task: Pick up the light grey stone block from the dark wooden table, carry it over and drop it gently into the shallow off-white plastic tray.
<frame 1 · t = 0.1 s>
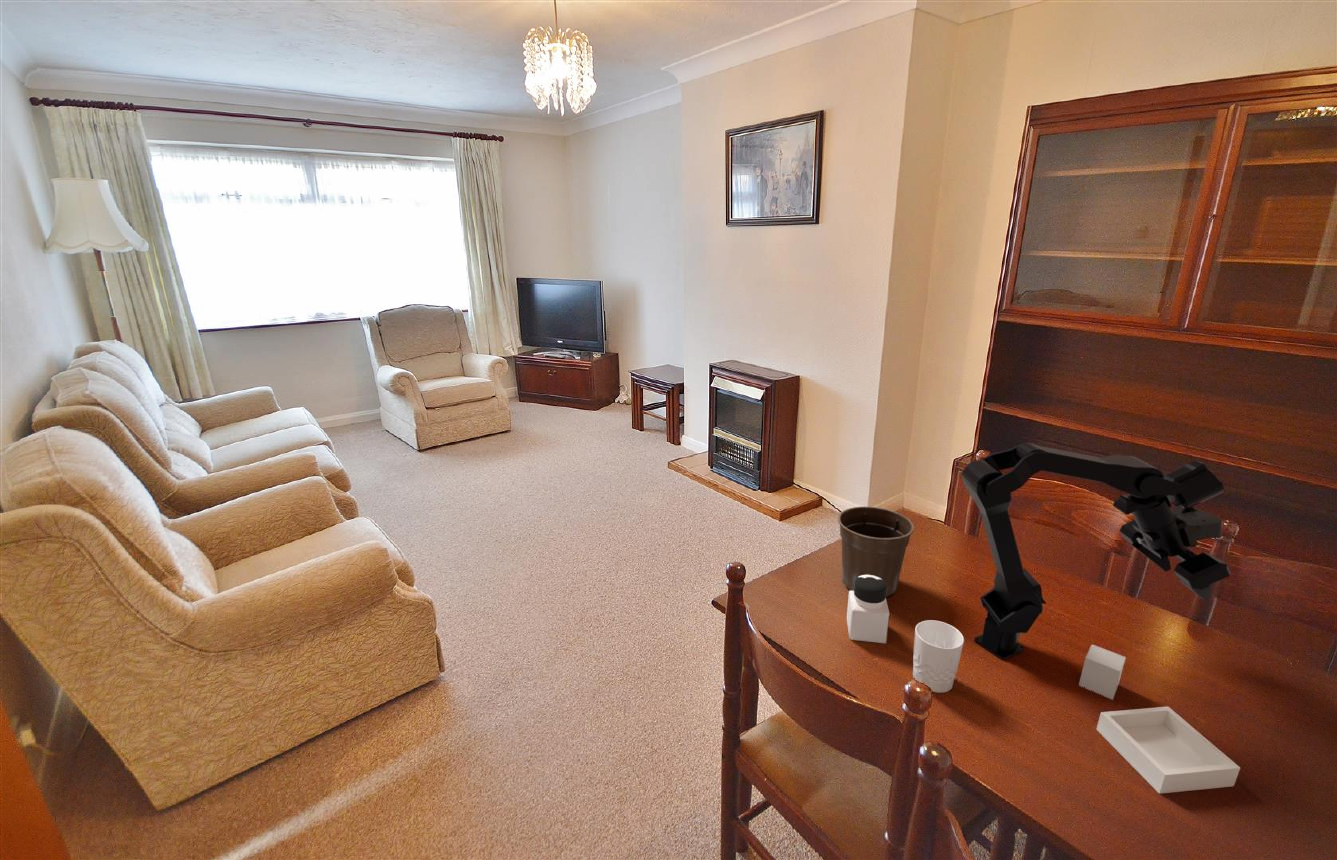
hand: (1186, 583, 107), 15 cm above the table, tool tilted 30°, fingers open, 9 cm apart
white cup: (932, 680, 106), on the table
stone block: (1098, 685, 104), on the table
plant pot: (869, 584, 136), on the table
medicine bottle: (865, 631, 120), on the table
tray: (1161, 756, 90), on the table
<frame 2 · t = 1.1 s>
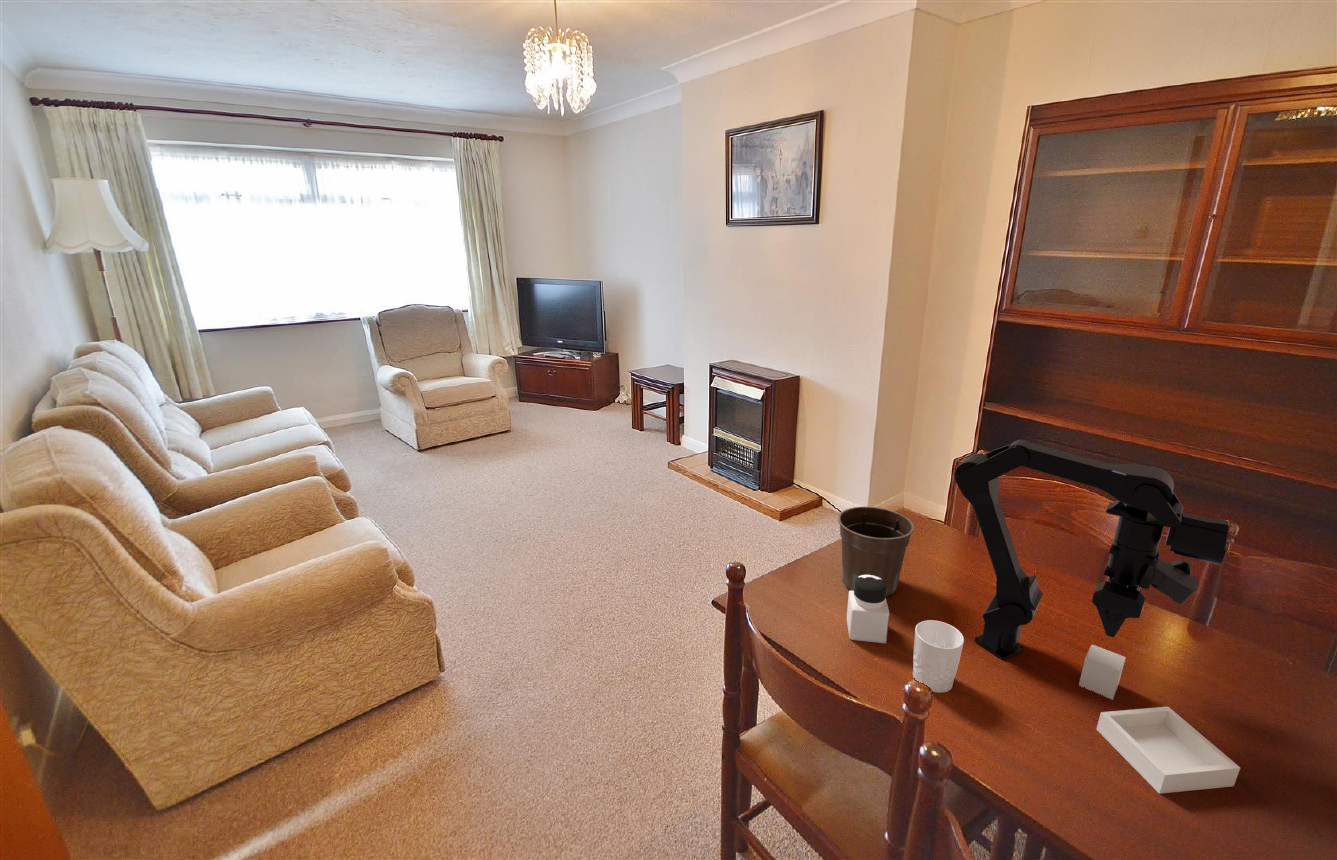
hand: (1115, 623, 100), 13 cm above the table, tool pointing down, fingers open, 9 cm apart
nothing on the table moved.
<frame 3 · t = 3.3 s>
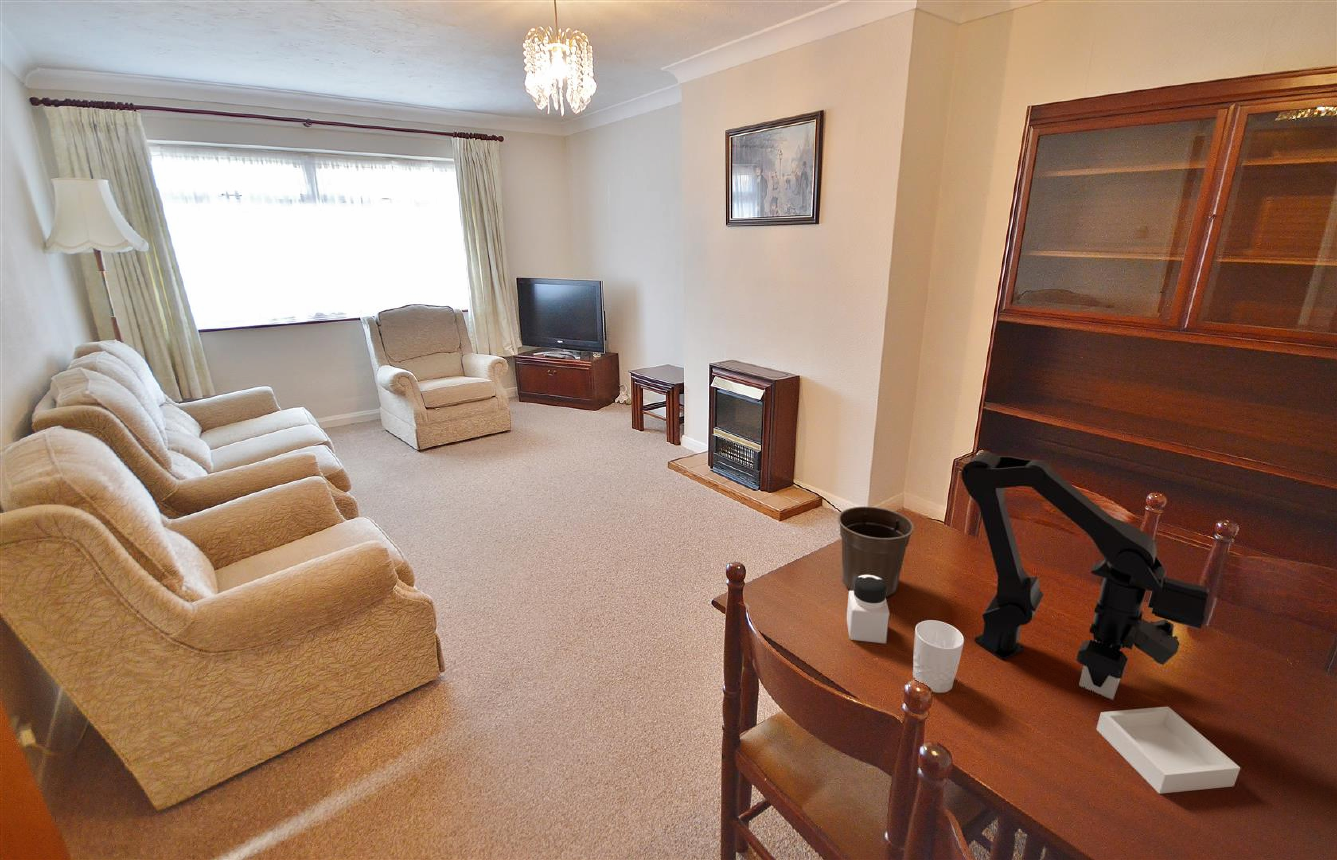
hand: (1100, 678, 104), 2 cm above the table, tool pointing down, fingers closed on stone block, 5 cm apart
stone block: (1098, 685, 104), on the table, touching gripper
everything else where it was.
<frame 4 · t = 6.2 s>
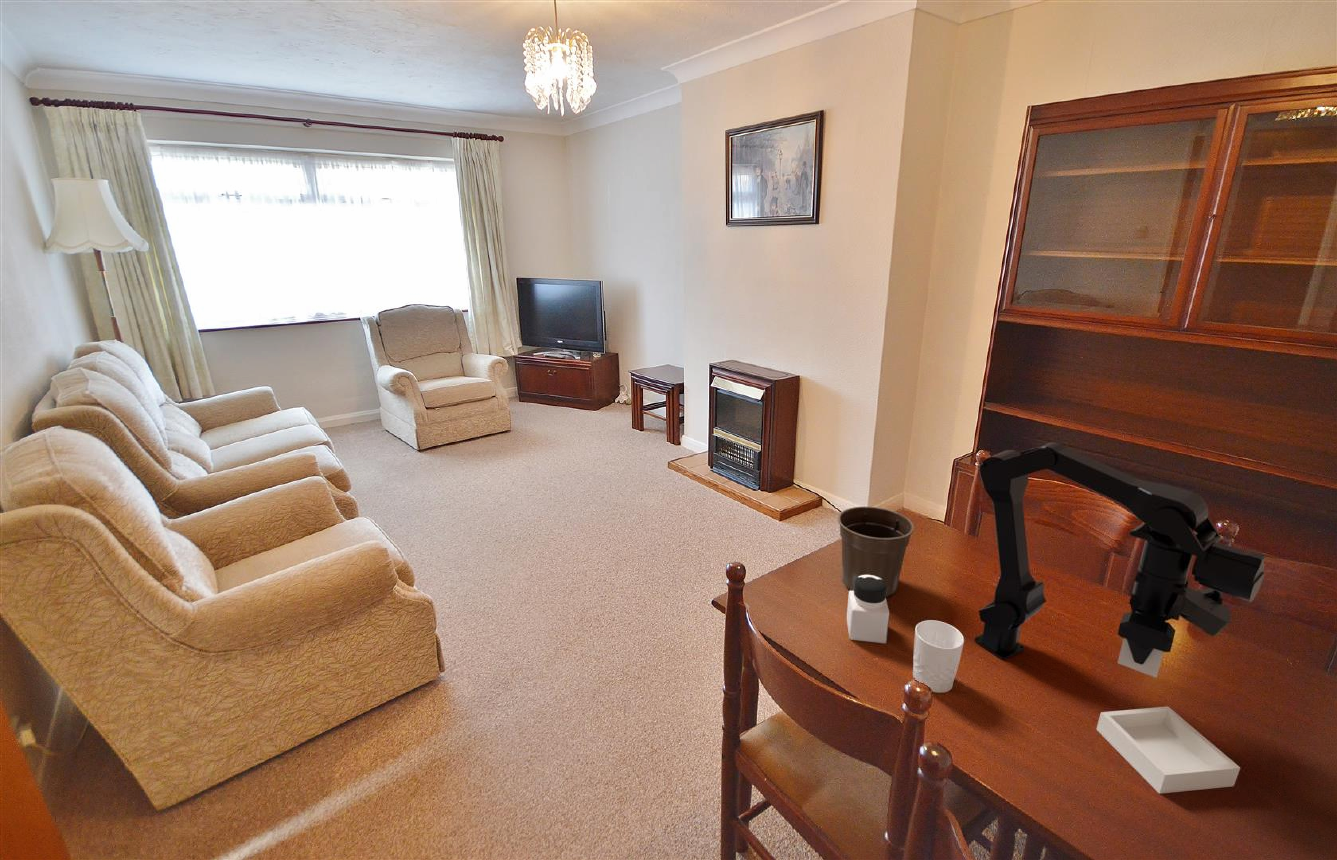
hand: (1140, 654, 94), 12 cm above the table, tool pointing down, fingers closed on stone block, 5 cm apart
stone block: (1139, 662, 95), point 10 cm above the table, touching gripper
everything else where it was.
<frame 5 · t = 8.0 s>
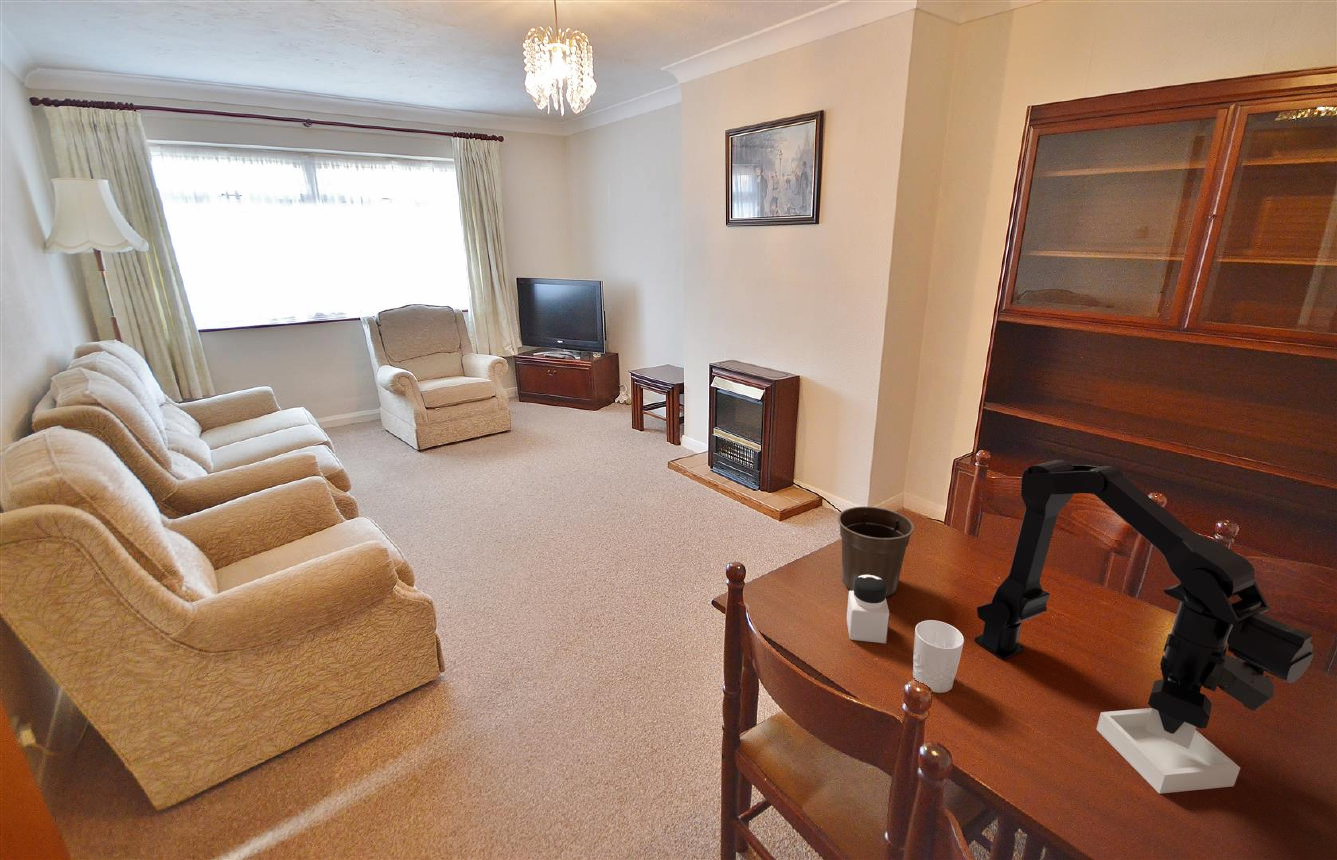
hand: (1171, 721, 88), 7 cm above the table, tool pointing down, fingers closed on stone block, 5 cm apart
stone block: (1169, 729, 88), point 5 cm above the table, touching gripper
everything else where it was.
when the fingers open (4 cm above the table, at t = 9.4 s): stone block drops 2 cm, resting on tray.
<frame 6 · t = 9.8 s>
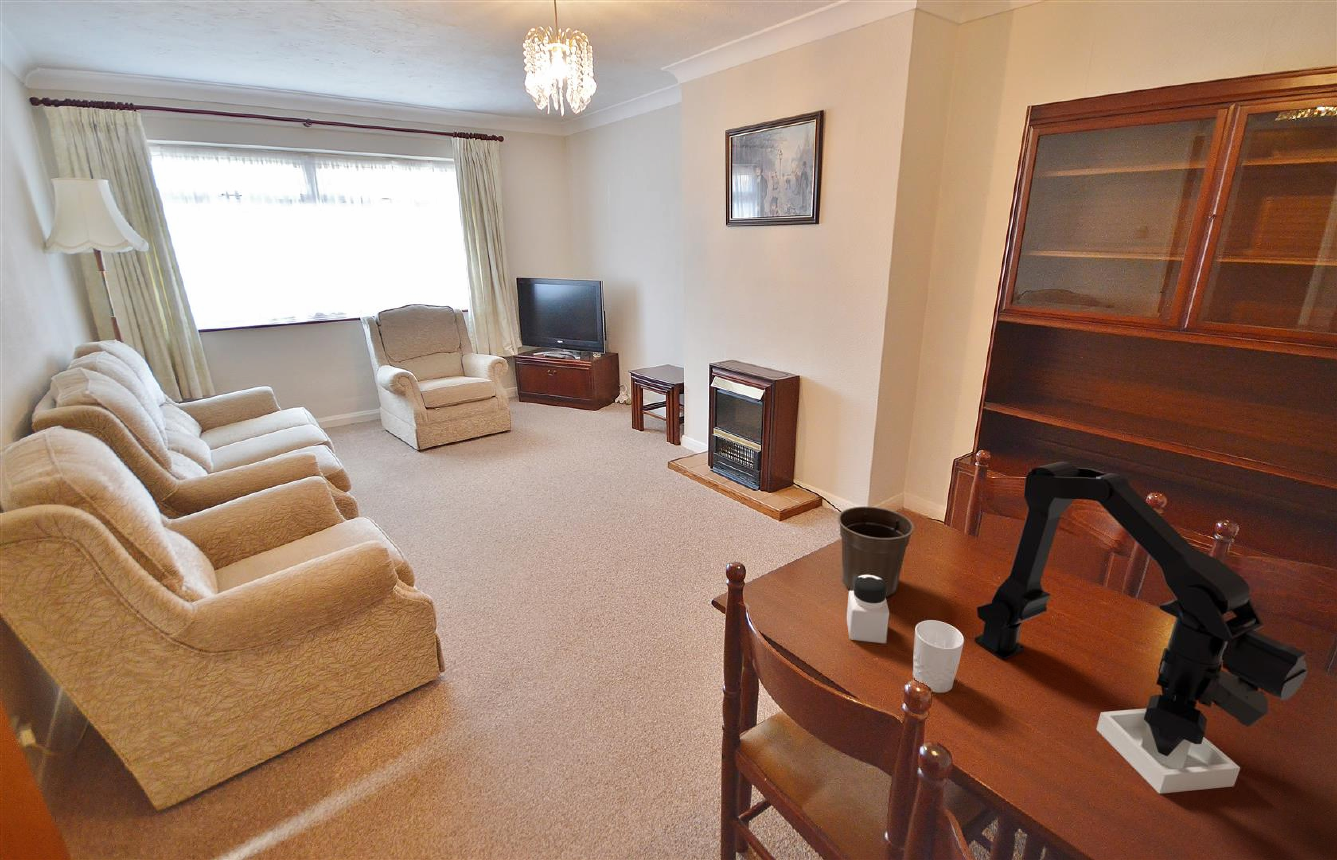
hand: (1167, 735, 89), 4 cm above the table, tool pointing down, fingers open, 9 cm apart
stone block: (1161, 753, 90), point 1 cm above the table, touching tray
everything else where it was.
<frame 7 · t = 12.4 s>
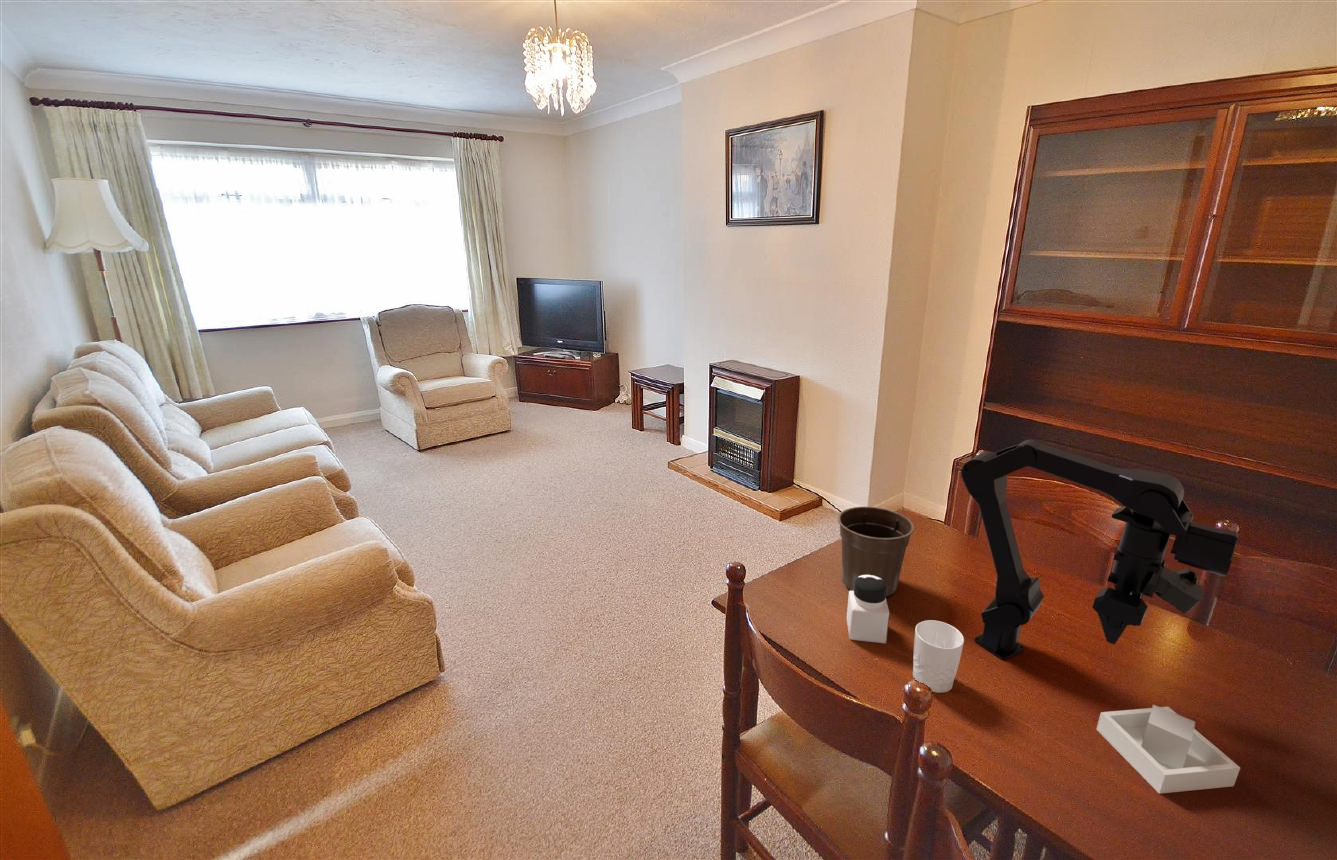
hand: (1117, 630, 99), 13 cm above the table, tool pointing down, fingers open, 9 cm apart
nothing on the table moved.
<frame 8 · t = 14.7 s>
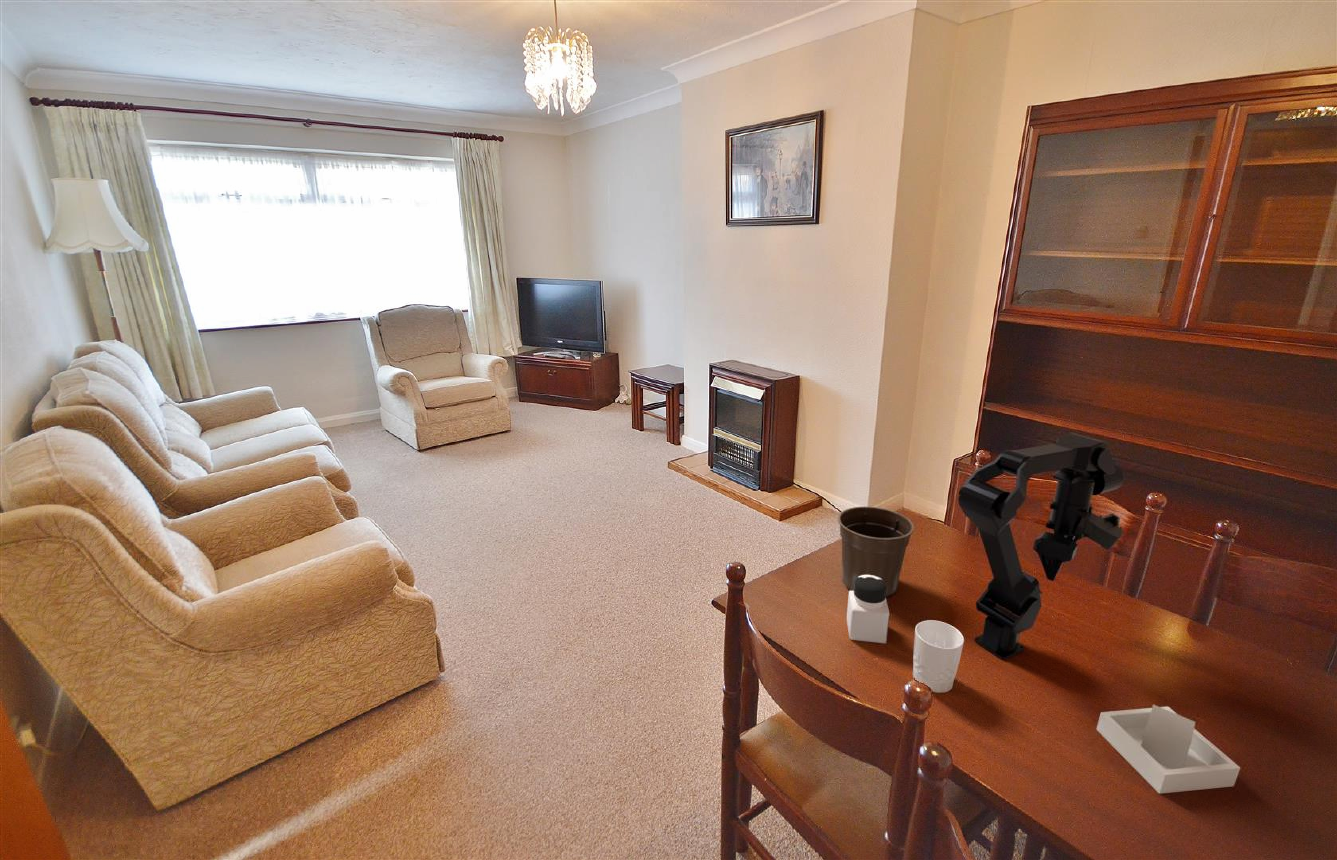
hand: (1056, 570, 116), 13 cm above the table, tool pointing down, fingers open, 9 cm apart
nothing on the table moved.
at the end: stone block 0.0 cm off-centre on the tray, point 0.6 cm above the tray's base; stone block tilted 0°; the gripper is holding nothing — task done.
